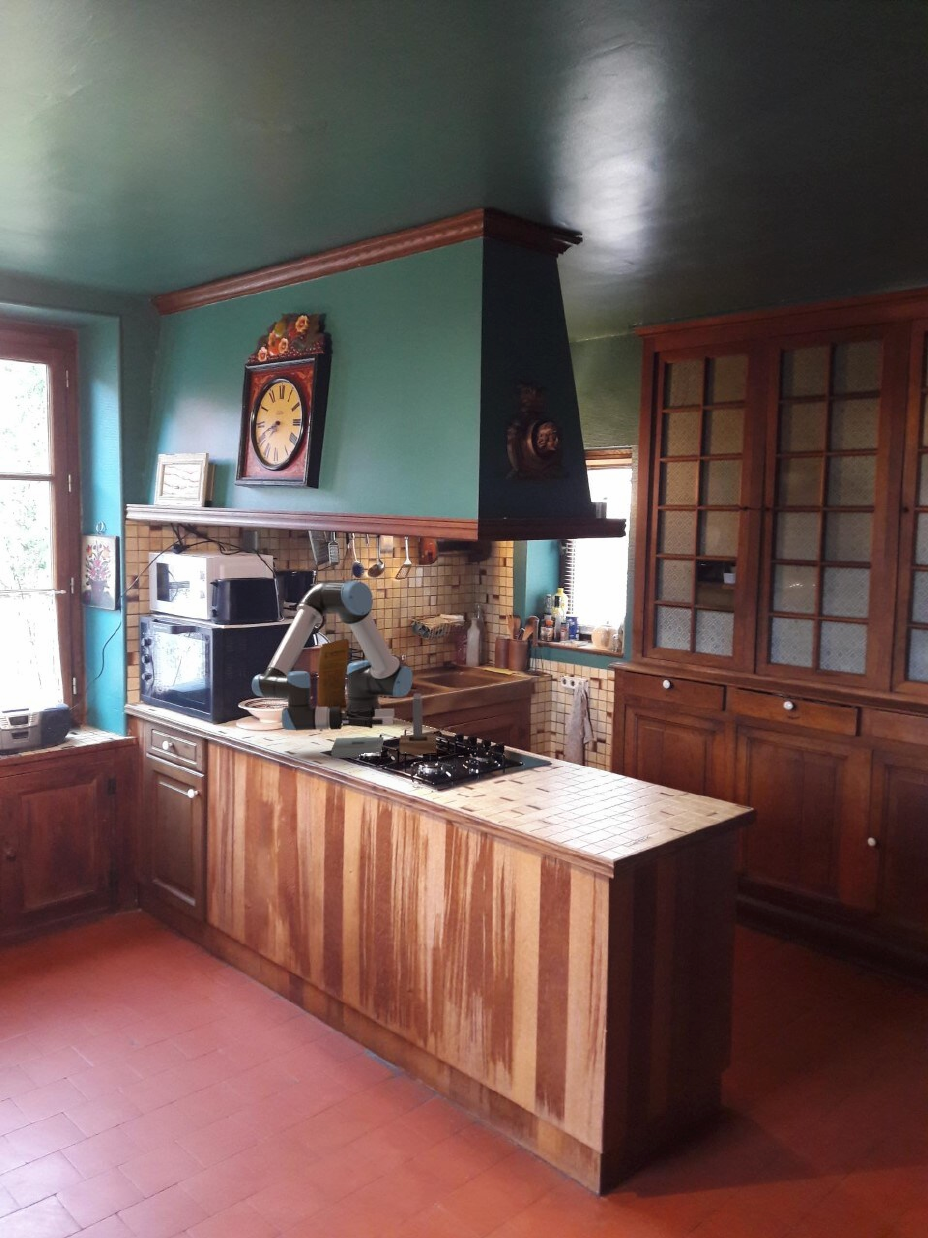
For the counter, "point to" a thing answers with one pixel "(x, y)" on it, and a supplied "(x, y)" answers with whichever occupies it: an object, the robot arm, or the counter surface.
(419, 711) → the t key
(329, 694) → the pancake mix bag
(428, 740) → the block
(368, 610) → the robot arm
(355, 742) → the cover plate
